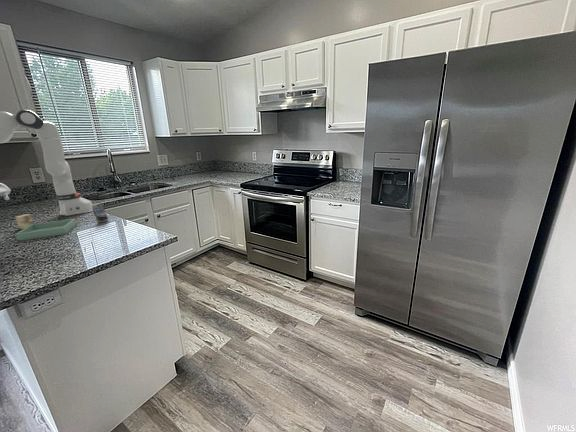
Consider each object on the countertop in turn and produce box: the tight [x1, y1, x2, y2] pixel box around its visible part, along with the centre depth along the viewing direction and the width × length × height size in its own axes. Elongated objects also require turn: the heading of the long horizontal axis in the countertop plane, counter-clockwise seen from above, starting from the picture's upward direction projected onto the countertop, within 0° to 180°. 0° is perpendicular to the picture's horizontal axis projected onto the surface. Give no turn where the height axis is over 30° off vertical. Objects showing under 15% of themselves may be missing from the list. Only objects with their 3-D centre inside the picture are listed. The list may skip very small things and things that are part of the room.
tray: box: [14, 218, 78, 242], centre depth 155 cm, size 22×18×4 cm
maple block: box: [14, 213, 35, 230], centre depth 164 cm, size 5×5×8 cm
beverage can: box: [92, 202, 108, 223], centre depth 169 cm, size 6×7×12 cm
